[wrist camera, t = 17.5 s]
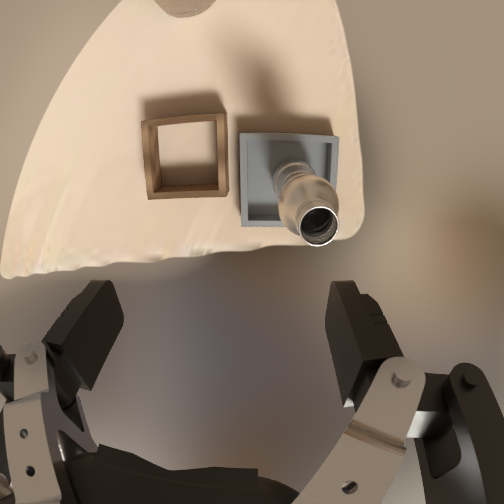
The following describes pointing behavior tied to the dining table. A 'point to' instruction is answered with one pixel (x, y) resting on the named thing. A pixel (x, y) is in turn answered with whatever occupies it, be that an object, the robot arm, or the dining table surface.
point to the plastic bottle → (306, 202)
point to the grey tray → (269, 159)
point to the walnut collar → (153, 160)
